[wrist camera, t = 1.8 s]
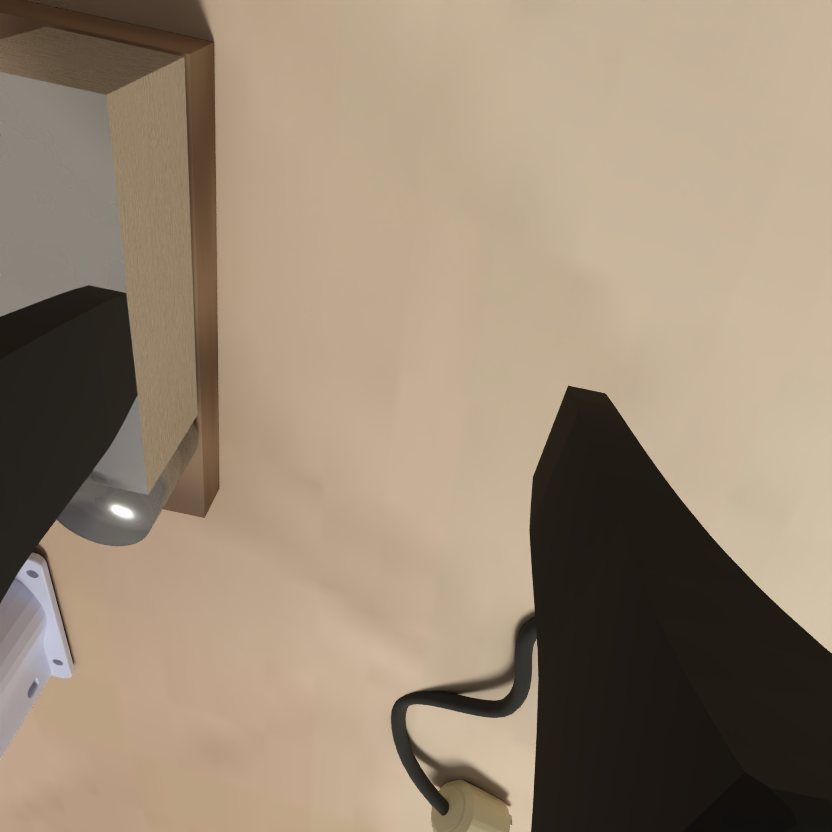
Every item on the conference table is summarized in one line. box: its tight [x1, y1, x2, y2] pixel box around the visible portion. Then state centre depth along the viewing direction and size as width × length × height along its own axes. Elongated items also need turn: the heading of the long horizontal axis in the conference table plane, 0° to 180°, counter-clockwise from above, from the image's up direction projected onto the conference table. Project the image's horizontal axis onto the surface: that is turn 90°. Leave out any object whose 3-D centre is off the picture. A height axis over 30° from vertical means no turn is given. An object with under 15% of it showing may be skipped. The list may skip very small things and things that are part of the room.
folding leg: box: [0, 27, 198, 546], centre depth 17 cm, size 12×3×4 cm, turn 170°
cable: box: [391, 618, 537, 832], centre depth 32 cm, size 16×16×4 cm
